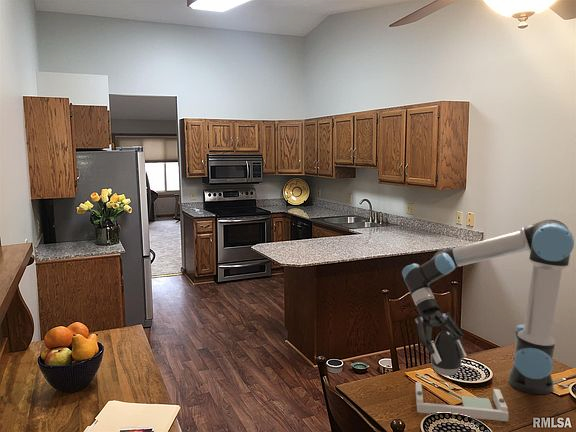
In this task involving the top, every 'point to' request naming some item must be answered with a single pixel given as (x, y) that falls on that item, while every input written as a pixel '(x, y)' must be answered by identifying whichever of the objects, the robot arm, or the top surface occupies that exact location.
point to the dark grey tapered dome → (447, 354)
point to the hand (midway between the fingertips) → (451, 360)
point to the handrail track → (467, 406)
